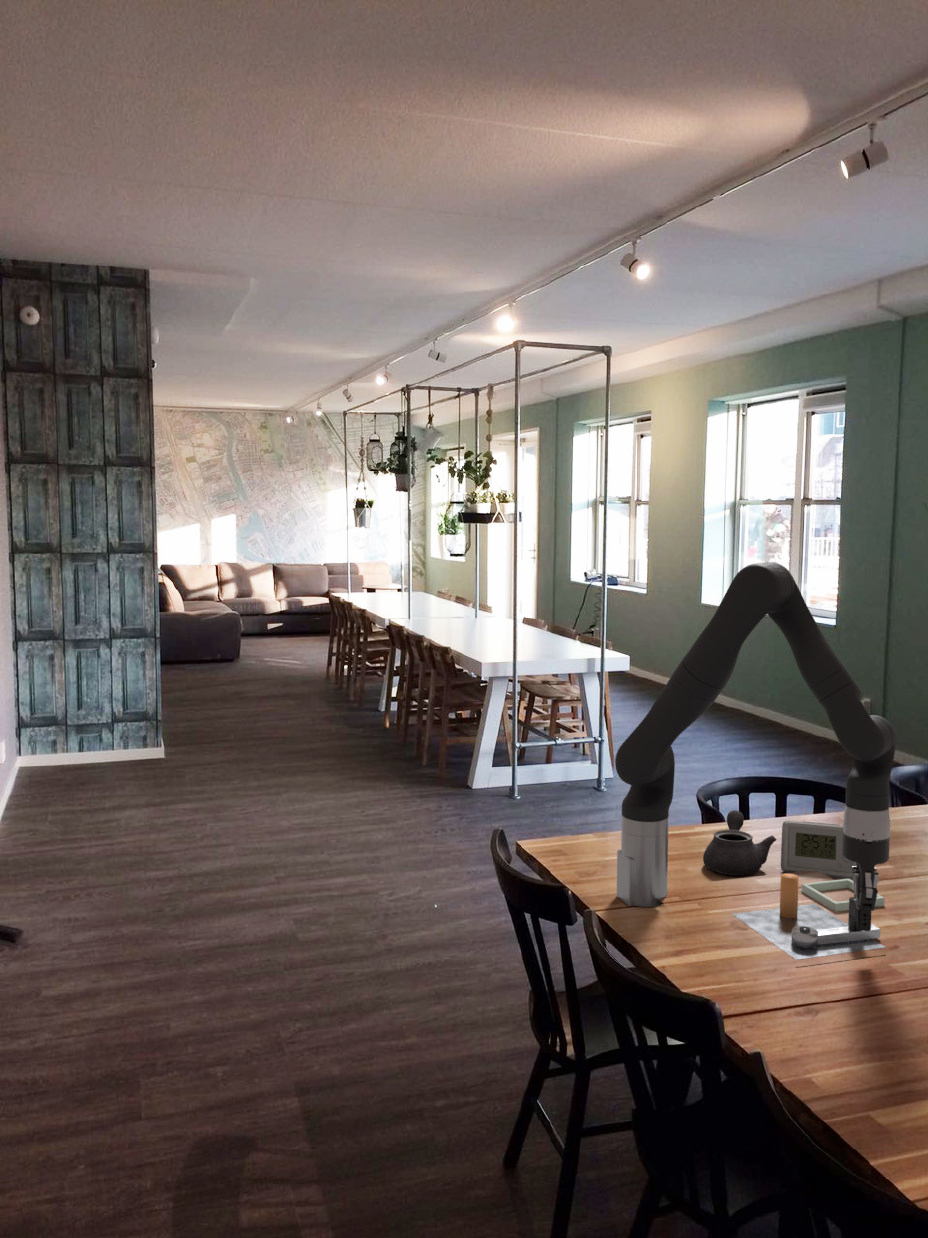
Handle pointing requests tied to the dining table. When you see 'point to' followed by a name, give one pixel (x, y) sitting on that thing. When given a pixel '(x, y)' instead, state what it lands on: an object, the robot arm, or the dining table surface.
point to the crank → (833, 932)
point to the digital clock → (814, 849)
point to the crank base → (807, 916)
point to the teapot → (736, 849)
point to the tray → (815, 887)
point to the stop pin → (789, 895)
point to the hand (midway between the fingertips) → (863, 929)
